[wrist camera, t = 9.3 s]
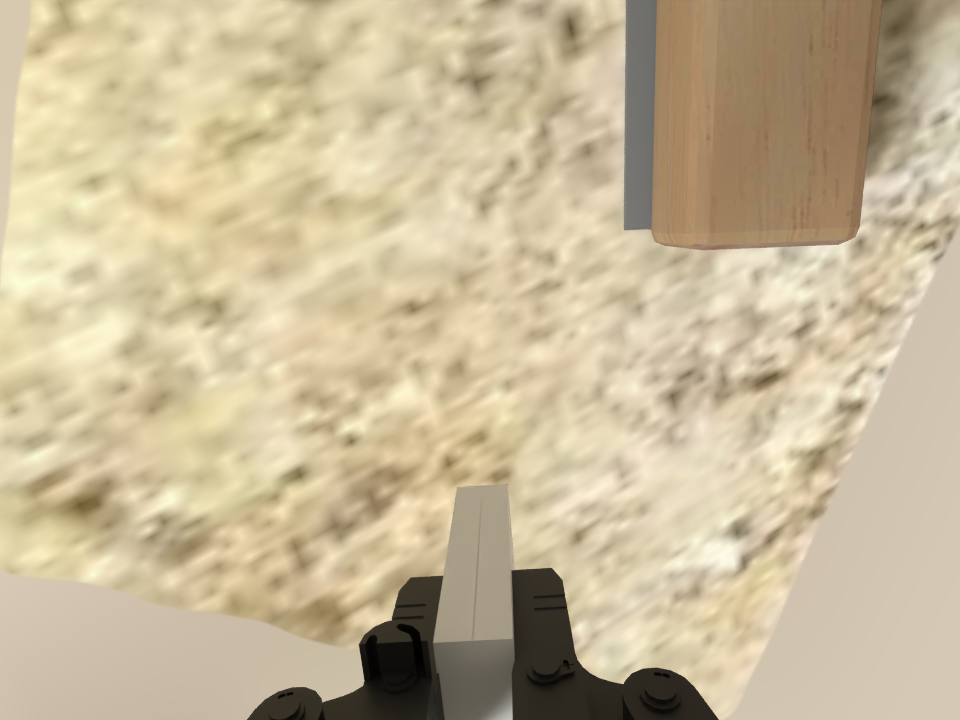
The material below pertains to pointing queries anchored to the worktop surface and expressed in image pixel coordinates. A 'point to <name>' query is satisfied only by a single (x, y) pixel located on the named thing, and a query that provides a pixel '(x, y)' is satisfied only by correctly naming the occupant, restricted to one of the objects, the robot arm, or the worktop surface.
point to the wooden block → (761, 121)
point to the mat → (639, 112)
